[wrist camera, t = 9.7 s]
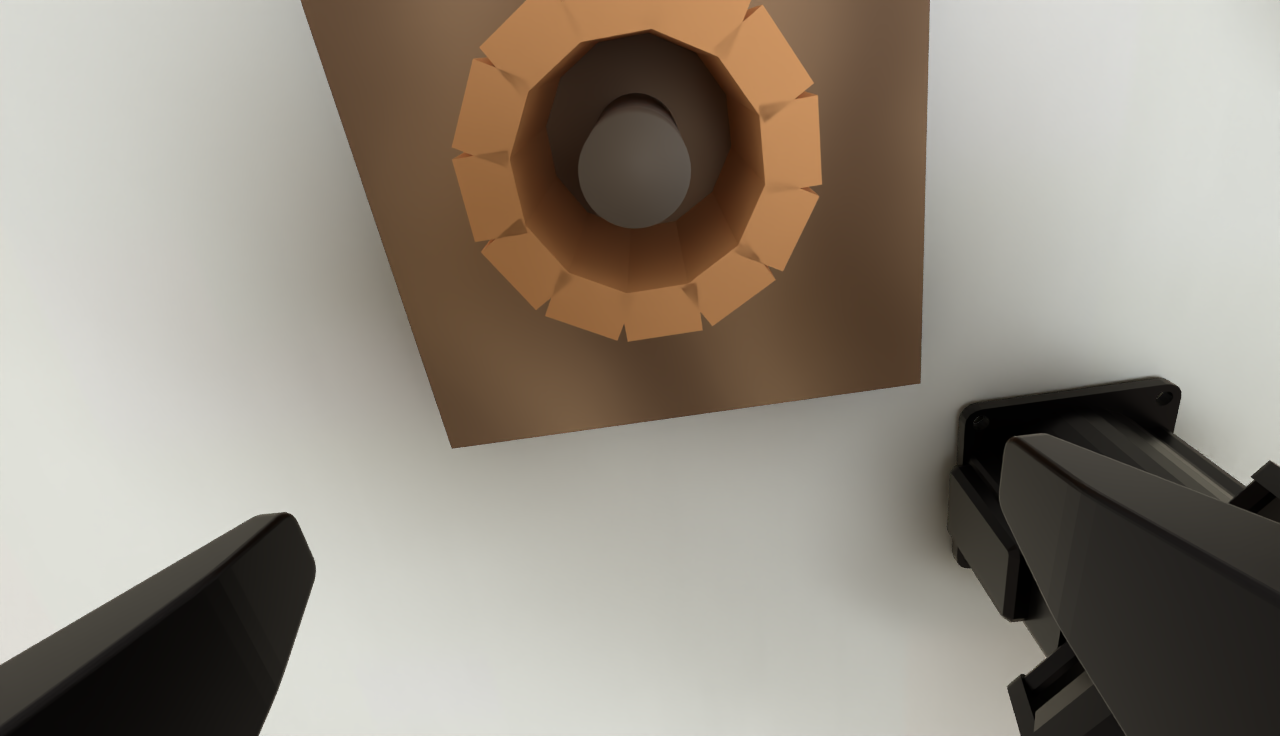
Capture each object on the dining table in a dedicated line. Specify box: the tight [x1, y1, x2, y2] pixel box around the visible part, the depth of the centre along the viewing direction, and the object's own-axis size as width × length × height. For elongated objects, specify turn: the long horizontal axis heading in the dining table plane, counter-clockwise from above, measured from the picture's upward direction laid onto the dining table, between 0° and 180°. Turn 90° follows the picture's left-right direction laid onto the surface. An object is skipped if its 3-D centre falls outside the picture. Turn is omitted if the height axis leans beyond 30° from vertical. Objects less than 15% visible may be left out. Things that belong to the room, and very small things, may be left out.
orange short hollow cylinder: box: [452, 0, 822, 342], centre depth 14 cm, size 6×6×5 cm
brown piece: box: [301, 0, 930, 449], centre depth 15 cm, size 14×16×6 cm
